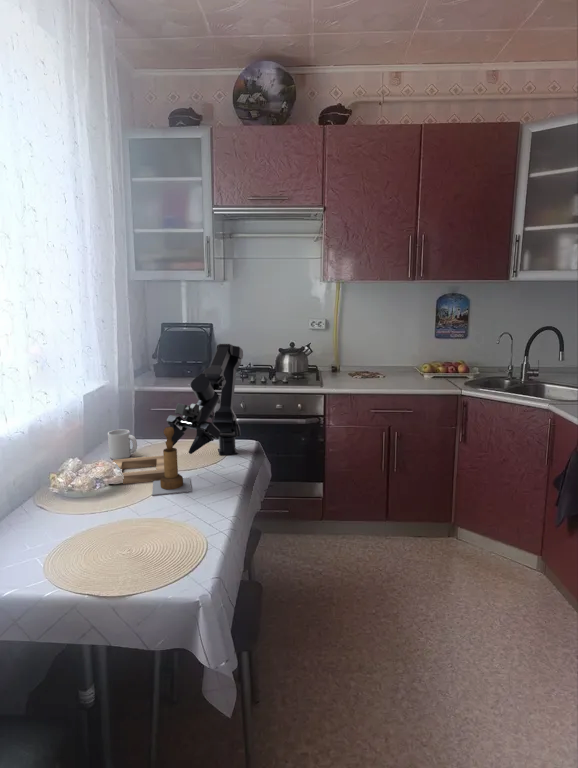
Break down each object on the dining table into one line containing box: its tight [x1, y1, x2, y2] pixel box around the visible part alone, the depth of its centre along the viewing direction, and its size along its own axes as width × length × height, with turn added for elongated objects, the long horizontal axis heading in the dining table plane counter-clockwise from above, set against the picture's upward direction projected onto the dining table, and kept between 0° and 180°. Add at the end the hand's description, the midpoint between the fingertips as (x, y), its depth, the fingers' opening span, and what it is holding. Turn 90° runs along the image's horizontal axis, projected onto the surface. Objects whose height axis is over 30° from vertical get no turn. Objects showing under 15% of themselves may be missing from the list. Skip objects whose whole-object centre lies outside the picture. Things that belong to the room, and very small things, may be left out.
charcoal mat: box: [151, 477, 192, 497], centre depth 155 cm, size 11×11×1 cm
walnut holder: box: [112, 455, 165, 485], centre depth 167 cm, size 17×17×2 cm
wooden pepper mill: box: [160, 426, 184, 489], centre depth 153 cm, size 7×6×18 cm
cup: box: [107, 429, 138, 460], centre depth 183 cm, size 7×10×9 cm
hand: (179, 450), depth 156 cm, fingers open, 9 cm apart
